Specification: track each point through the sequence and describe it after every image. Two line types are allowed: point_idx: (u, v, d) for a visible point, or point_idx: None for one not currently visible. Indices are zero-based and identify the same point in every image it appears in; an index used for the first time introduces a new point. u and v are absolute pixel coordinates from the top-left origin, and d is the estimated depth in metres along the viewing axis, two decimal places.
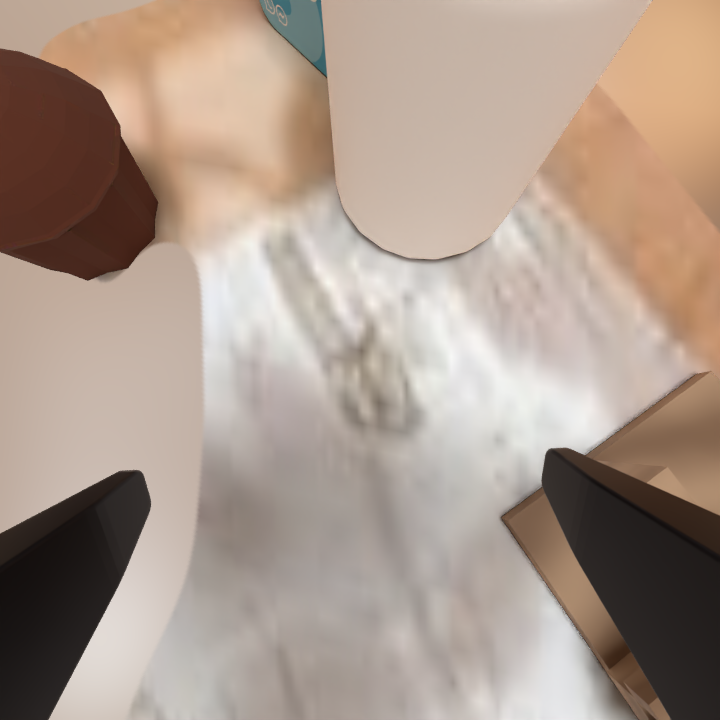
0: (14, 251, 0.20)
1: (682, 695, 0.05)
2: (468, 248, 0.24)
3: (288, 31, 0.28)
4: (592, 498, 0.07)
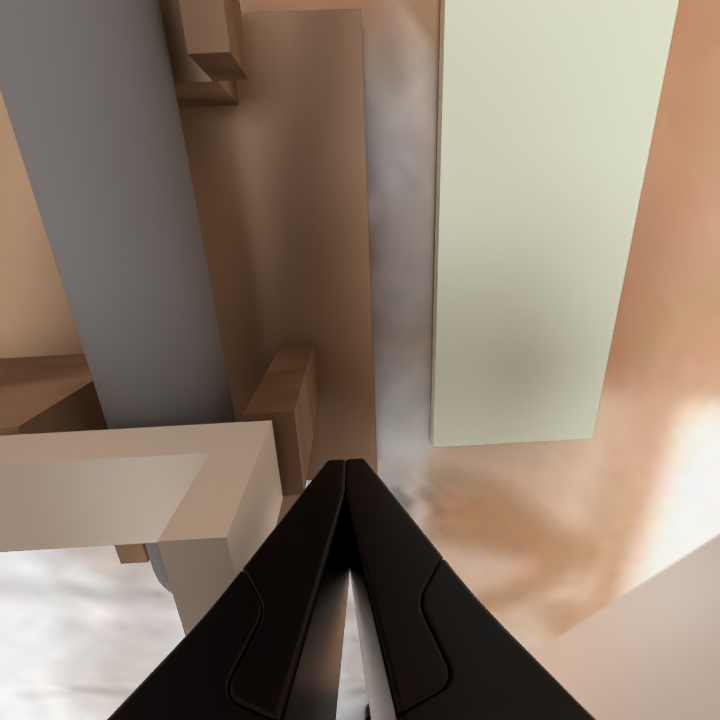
0: None
1: (373, 715, 0.05)
2: None
3: None
4: (346, 511, 0.07)
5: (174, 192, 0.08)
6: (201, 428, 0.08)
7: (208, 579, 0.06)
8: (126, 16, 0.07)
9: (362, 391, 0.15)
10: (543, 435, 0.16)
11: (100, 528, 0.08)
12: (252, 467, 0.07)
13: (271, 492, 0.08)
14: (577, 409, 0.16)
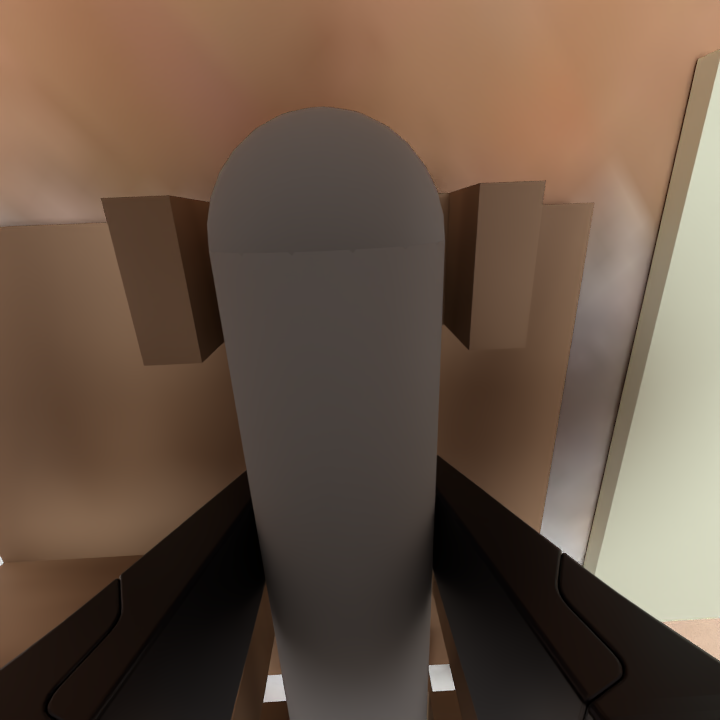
0: None
1: (485, 708, 0.05)
2: None
3: None
4: (435, 507, 0.07)
5: (433, 514, 0.06)
6: None
7: None
8: (434, 350, 0.05)
9: None
10: (707, 613, 0.14)
11: None
12: None
13: None
14: None
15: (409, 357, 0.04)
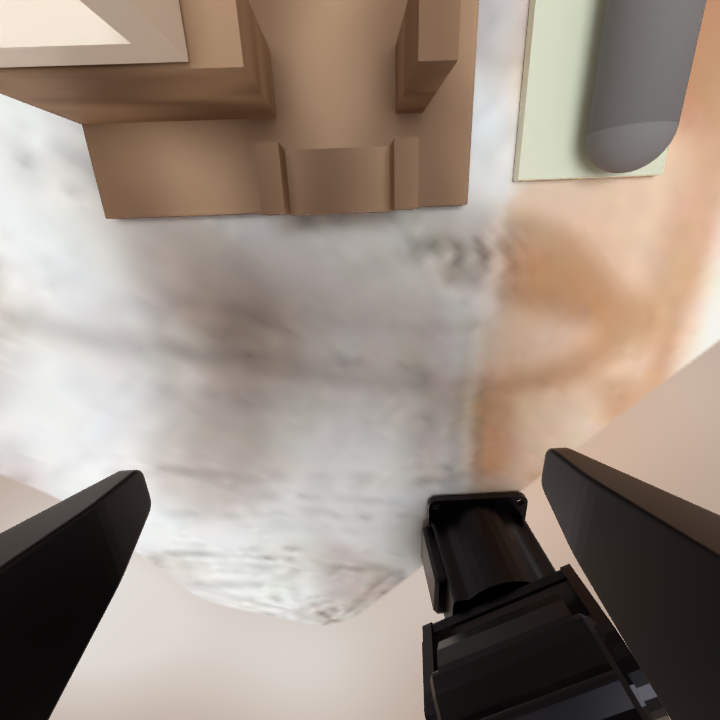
0: None
1: (682, 695, 0.05)
2: None
3: None
4: (592, 498, 0.07)
5: None
6: None
7: None
8: None
9: (462, 104, 0.16)
10: None
11: (20, 24, 0.09)
12: None
13: (167, 4, 0.10)
14: None
15: None
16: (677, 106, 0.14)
